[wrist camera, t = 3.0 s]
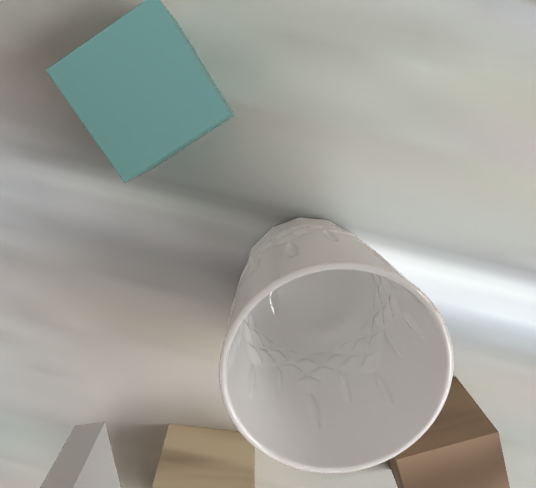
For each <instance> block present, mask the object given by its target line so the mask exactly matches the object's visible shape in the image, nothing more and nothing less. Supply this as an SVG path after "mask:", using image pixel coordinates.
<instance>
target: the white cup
mask: <svg viewBox="0 0 536 488" xmlns="http://www.w3.org/2000/svg"><path fill="white" fill-rule="evenodd" d="M453 367H454V358H453V348H452V342H451V338H450V335H449V332H448V329H447V326H446V324H445V322H444V320H443V318H442V316H441V314H440V313H439V311H438V309H437V308H436V307H435V305H434V304H433V303H432V301H431V300H430V299H429V298H428V297H427V296H426V295H425V294H424V293H423V292H422V291H421V290H420V289H419V288H418V287H416V286H415V285H414V284H413V283H412V282H410V281H409V280H408V279H407V278H406V277H405V276H403V275H402V274H401V273H400V272H399V271H398V270H397V269H395V268H394V267H393V266H392V265H391V264H390V263H389V262H388V261H386V260H385V259H384V258H383V257H382V256H381V255H380V254H378V253H377V252H376V251H374V250H373V249H372V248H370V247H369V246H368V245H367V244H365V243H364V242H363V241H362V240H360V239H359V238H357V237H356V236H354V235H353V234H351V233H349V232H348V231H346V230H344V229H343V228H341V227H339V226H338V225H336V224H334V223H333V222H331V221H329V220H325V219H313V218H301V217H299V218H296V219H293V220H290V221H288V222H285V223H282V224H280V225H277V226H274V227H272V228H271V229H270V230H269V231H268V232H267V233H266V234H265V235H264V236H263V237H262V238H261V239H260V240H259V241H258V242H257V243H256V244H255V245H254V246H253V247H252V248H251V251H250V254H249V257H248V260H247V263H246V266H245V268H244V270H243V272H242V274H241V277H240V280H239V284H238V287H237V290H236V294H235V297H234V300H233V304H232V308H231V313H230V317H229V322H228V326H227V331H226V335H225V339H224V343H223V348H222V352H221V357H220V364H219V382H220V389H221V394H222V398H223V402H224V404H225V407H226V410H227V412H228V414H229V416H230V418H231V420H232V422H233V423H234V425H235V426H236V428H237V429H238V430H239V432H240V433H241V434H242V435H243V437H244V438H245V439H246V440H247V441H248V442H249V443H250V444H251V445H253V446H254V447H255V448H256V449H257V450H259V451H260V452H262V453H263V454H265V455H266V456H268V457H269V458H271V459H273V460H275V461H277V462H279V463H281V464H284V465H286V466H289V467H292V468H295V469H299V470H303V471H308V472H315V473H346V472H353V471H358V470H362V469H366V468H369V467H372V466H375V465H378V464H380V463H383V462H385V461H387V460H389V459H391V458H393V457H395V456H397V455H398V454H400V453H401V452H403V451H404V450H406V449H407V448H409V447H410V446H411V445H412V444H414V443H415V442H416V441H417V440H418V439H419V438H420V437H421V436H422V435H423V434H424V433H425V432H426V431H427V430H428V429H429V427H430V426H431V425H432V424H433V422H434V421H435V419H436V418H437V416H438V415H439V413H440V411H441V410H442V408H443V406H444V403H445V401H446V399H447V396H448V393H449V390H450V387H451V382H452V377H453Z"/></svg>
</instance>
